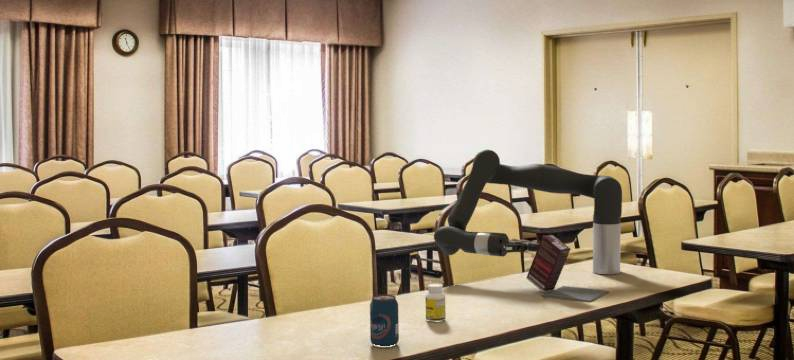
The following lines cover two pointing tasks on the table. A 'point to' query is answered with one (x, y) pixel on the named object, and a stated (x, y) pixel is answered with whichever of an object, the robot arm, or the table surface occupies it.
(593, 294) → the mat
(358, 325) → the table surface
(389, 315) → the soda can
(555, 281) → the supplement box
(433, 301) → the supplement bottle
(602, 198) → the robot arm
